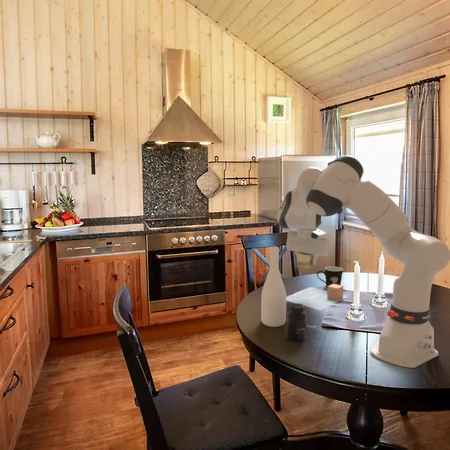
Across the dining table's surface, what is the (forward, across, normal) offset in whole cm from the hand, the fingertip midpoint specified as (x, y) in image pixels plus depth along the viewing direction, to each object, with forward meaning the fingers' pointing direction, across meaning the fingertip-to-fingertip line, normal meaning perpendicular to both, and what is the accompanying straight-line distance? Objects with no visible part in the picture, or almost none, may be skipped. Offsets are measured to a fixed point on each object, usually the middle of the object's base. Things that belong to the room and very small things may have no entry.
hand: (306, 262), depth 180 cm
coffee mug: (+17, +1, +20) cm, 26 cm away
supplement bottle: (+17, +21, -38) cm, 46 cm away
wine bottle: (+17, +7, -33) cm, 38 cm away
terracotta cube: (+15, +11, +7) cm, 20 cm away
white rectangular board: (+16, +5, 0) cm, 17 cm away
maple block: (+2, 0, 0) cm, 2 cm away
